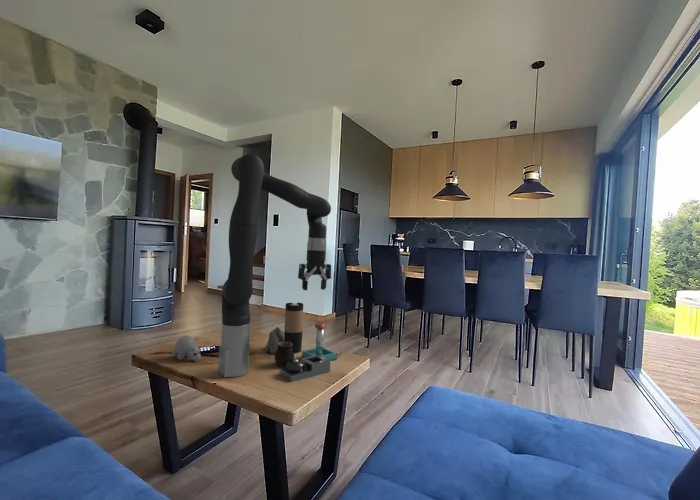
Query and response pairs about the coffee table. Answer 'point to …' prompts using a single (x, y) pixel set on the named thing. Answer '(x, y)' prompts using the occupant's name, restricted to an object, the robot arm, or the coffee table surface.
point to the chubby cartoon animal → (186, 348)
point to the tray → (326, 354)
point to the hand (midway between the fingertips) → (314, 289)
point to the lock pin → (319, 338)
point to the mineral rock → (274, 340)
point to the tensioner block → (305, 368)
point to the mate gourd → (284, 353)
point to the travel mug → (294, 325)
